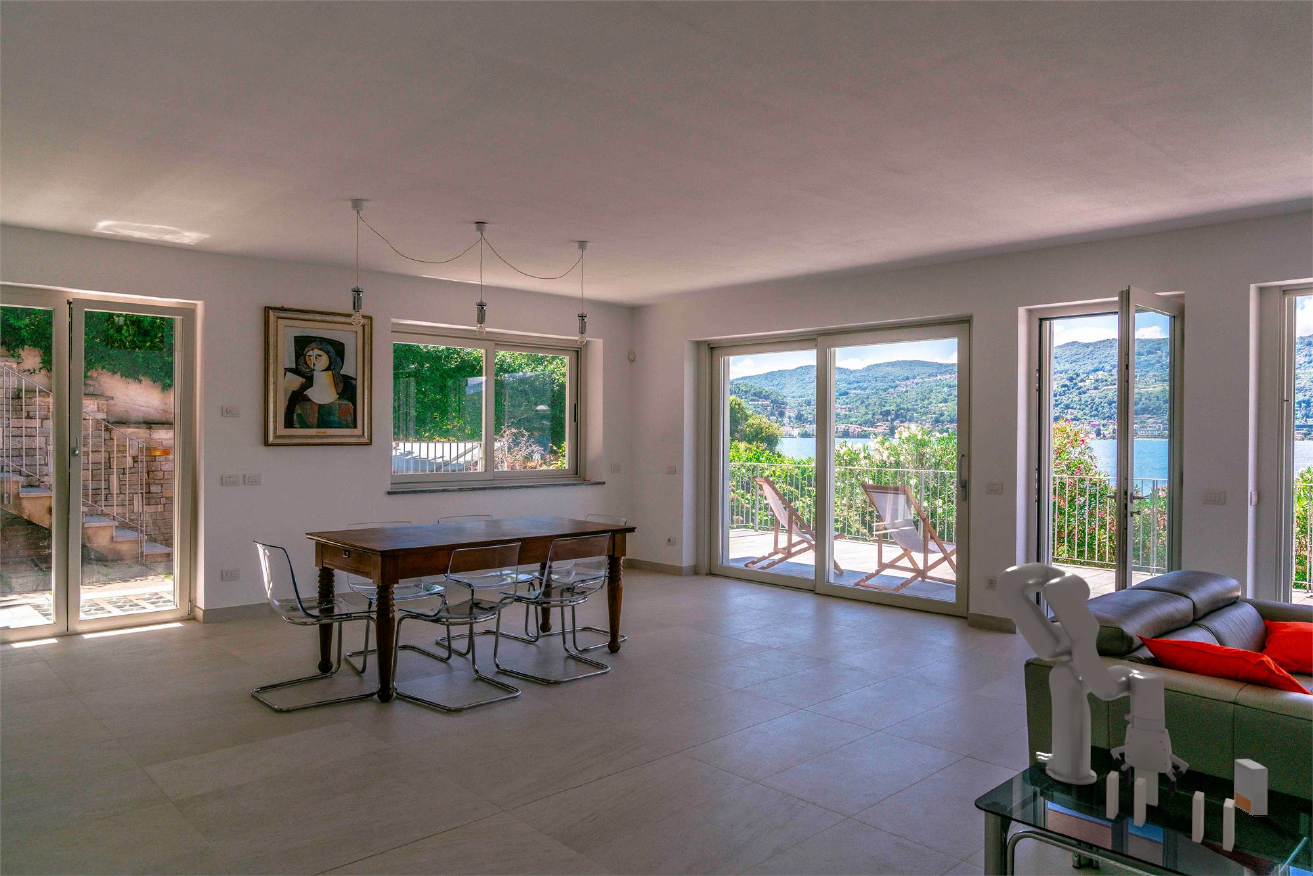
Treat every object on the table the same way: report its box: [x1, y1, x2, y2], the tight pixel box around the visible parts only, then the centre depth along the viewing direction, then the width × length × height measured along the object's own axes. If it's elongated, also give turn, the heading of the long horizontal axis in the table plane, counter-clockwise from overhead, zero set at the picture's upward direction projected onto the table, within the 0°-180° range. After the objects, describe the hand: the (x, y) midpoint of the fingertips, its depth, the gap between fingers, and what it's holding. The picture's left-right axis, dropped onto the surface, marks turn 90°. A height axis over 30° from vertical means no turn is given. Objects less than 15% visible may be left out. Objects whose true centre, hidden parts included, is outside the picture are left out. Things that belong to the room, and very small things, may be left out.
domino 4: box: [1191, 790, 1205, 844], centre depth 197 cm, size 2×5×10 cm, turn 140°
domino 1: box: [1105, 770, 1120, 820], centre depth 209 cm, size 2×5×10 cm, turn 140°
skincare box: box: [1233, 758, 1269, 817], centre depth 211 cm, size 6×4×12 cm
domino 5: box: [1222, 798, 1236, 853], centre depth 194 cm, size 2×5×10 cm, turn 140°
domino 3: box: [1133, 767, 1159, 807], centre depth 216 cm, size 2×5×10 cm, turn 50°
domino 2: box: [1133, 777, 1147, 828], centre depth 205 cm, size 2×5×10 cm, turn 140°
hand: (1149, 789), depth 215 cm, fingers open, 9 cm apart
